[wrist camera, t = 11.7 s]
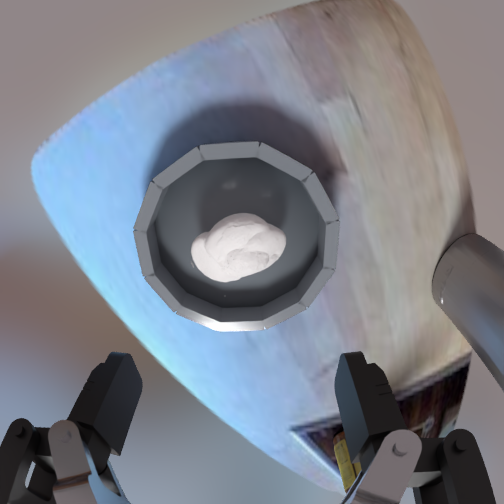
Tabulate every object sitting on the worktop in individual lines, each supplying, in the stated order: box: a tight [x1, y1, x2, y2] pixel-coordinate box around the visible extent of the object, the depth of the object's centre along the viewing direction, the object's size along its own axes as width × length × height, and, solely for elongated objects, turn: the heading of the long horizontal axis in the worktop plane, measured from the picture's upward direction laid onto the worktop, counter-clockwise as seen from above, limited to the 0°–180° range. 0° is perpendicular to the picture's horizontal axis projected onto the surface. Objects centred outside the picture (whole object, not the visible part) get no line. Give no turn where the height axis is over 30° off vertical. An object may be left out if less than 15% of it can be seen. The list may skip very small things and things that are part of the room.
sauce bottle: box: [333, 431, 362, 494], centre depth 28 cm, size 7×6×20 cm
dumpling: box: [191, 213, 286, 282], centre depth 20 cm, size 7×5×4 cm
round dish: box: [133, 141, 340, 331], centre depth 21 cm, size 15×15×3 cm
